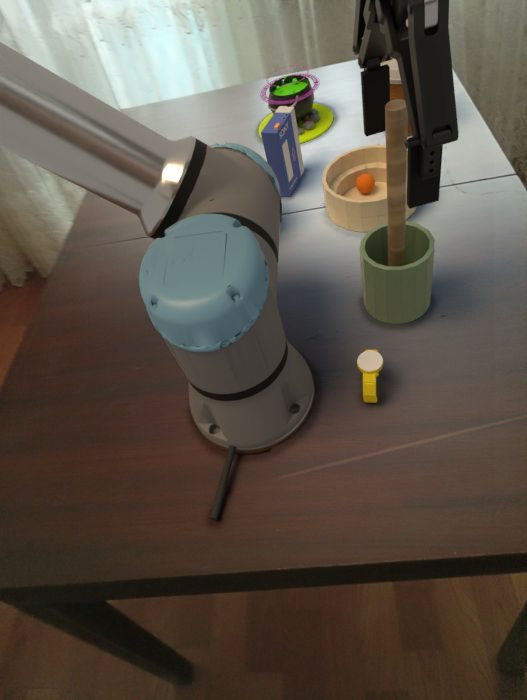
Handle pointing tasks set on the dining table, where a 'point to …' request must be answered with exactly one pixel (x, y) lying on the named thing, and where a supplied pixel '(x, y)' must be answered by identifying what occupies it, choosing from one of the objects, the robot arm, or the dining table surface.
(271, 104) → the toy cauldron
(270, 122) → the walkman
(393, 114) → the stick
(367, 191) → the ball
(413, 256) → the crock
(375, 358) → the watch
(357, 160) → the mixing bowl
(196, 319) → the robot arm
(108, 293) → the dining table surface
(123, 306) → the dining table surface
